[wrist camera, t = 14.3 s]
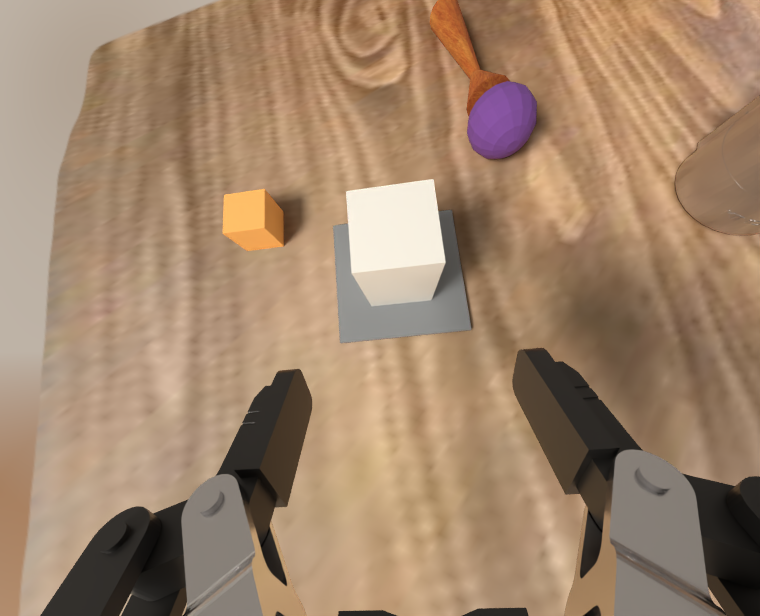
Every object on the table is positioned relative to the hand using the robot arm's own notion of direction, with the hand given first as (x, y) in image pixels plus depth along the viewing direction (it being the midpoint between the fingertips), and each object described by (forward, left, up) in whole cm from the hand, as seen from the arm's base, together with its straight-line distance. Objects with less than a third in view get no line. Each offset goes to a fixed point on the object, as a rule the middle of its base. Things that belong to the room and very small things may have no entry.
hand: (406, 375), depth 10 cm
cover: (-8, -3, -14) cm, 17 cm away
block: (-9, -18, -15) cm, 25 cm away
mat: (-8, -3, -15) cm, 17 cm away
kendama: (-31, -2, -15) cm, 34 cm away
